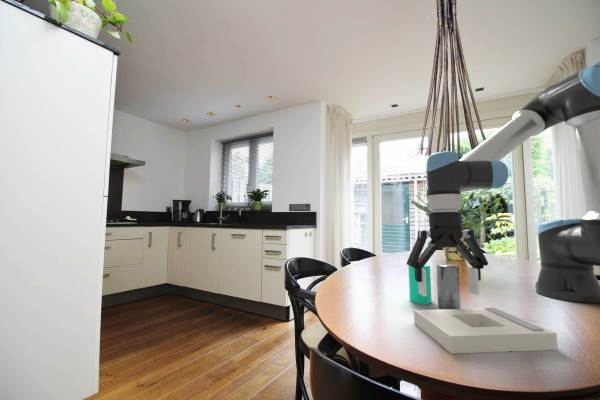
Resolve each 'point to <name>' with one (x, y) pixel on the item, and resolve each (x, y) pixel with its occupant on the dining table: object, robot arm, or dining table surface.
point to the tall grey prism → (448, 286)
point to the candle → (414, 286)
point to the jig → (483, 331)
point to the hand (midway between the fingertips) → (448, 294)
